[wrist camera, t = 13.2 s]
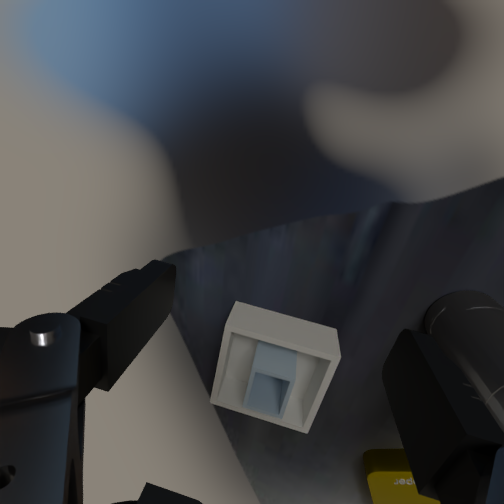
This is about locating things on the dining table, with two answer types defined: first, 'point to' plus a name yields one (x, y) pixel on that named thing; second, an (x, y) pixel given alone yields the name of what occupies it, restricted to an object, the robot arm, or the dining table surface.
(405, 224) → the dining table surface
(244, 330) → the large crate
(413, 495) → the element tile
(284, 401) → the small crate
